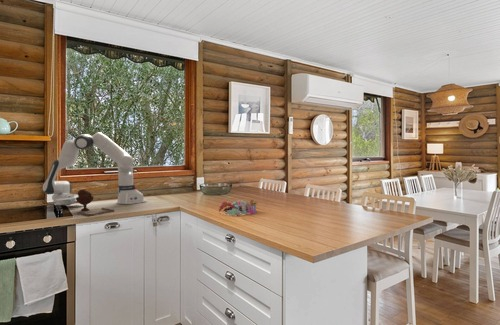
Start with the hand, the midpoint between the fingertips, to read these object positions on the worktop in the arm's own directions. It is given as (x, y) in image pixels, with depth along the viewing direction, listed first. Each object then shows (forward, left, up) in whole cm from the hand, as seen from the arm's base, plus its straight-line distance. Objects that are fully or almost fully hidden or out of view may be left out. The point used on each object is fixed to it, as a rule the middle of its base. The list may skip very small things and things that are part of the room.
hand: (76, 201), depth 220 cm
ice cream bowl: (-5, +10, -6) cm, 12 cm away
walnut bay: (-10, +22, -6) cm, 24 cm away
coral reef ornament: (-93, +74, -6) cm, 119 cm away
